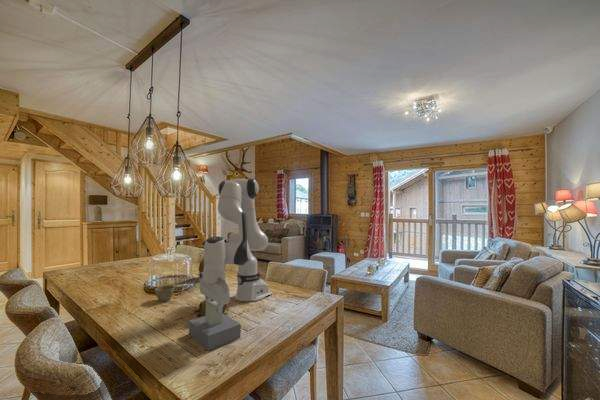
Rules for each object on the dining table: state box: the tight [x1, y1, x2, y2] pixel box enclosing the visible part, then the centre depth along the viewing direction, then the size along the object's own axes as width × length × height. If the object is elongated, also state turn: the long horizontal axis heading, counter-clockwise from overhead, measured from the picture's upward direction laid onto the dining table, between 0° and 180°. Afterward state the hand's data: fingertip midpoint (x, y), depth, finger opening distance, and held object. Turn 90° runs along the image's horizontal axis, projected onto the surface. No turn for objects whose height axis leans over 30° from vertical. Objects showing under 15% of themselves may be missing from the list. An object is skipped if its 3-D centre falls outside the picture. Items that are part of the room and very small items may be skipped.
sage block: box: [206, 301, 222, 326], centre depth 111 cm, size 5×5×8 cm
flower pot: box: [154, 284, 176, 303], centre depth 150 cm, size 10×10×7 cm
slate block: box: [188, 313, 242, 351], centre depth 111 cm, size 14×18×6 cm
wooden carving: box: [193, 299, 228, 318], centre depth 128 cm, size 16×5×10 cm, turn 141°
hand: (214, 309), depth 111 cm, fingers open, 8 cm apart
